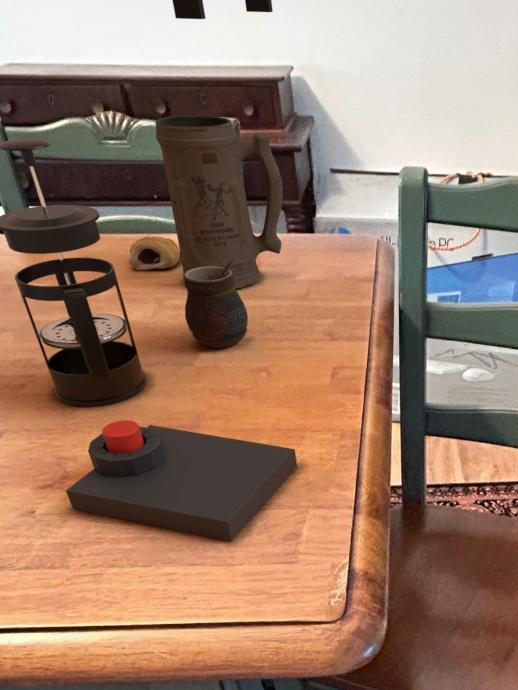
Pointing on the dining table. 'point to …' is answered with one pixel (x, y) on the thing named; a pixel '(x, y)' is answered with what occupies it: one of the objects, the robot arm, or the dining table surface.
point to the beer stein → (217, 194)
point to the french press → (72, 298)
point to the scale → (183, 481)
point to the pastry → (153, 253)
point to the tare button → (122, 436)
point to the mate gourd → (214, 307)
